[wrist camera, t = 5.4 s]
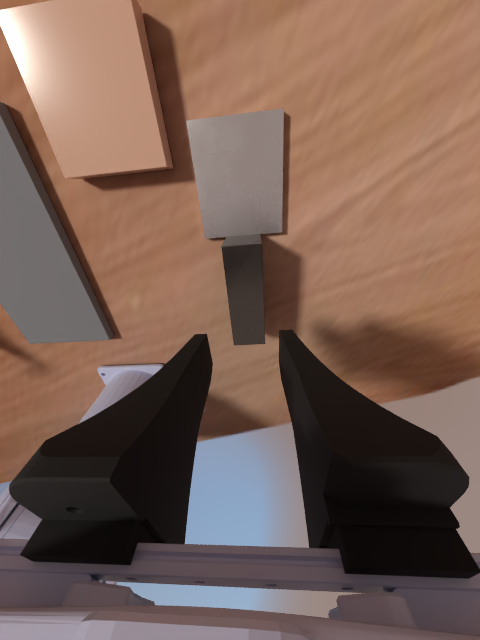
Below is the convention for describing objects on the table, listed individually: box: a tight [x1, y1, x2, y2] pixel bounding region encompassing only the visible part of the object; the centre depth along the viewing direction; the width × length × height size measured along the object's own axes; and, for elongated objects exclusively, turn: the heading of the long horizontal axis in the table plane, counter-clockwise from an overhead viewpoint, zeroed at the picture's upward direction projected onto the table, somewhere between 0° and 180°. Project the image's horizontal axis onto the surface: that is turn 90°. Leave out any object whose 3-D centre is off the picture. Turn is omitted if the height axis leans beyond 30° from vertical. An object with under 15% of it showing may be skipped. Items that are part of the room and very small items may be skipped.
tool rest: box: [0, 102, 114, 344], centre depth 18 cm, size 18×9×1 cm, turn 5°
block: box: [0, 0, 173, 179], centre depth 13 cm, size 2×7×7 cm
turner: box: [186, 108, 284, 345], centre depth 16 cm, size 15×6×4 cm, turn 5°
